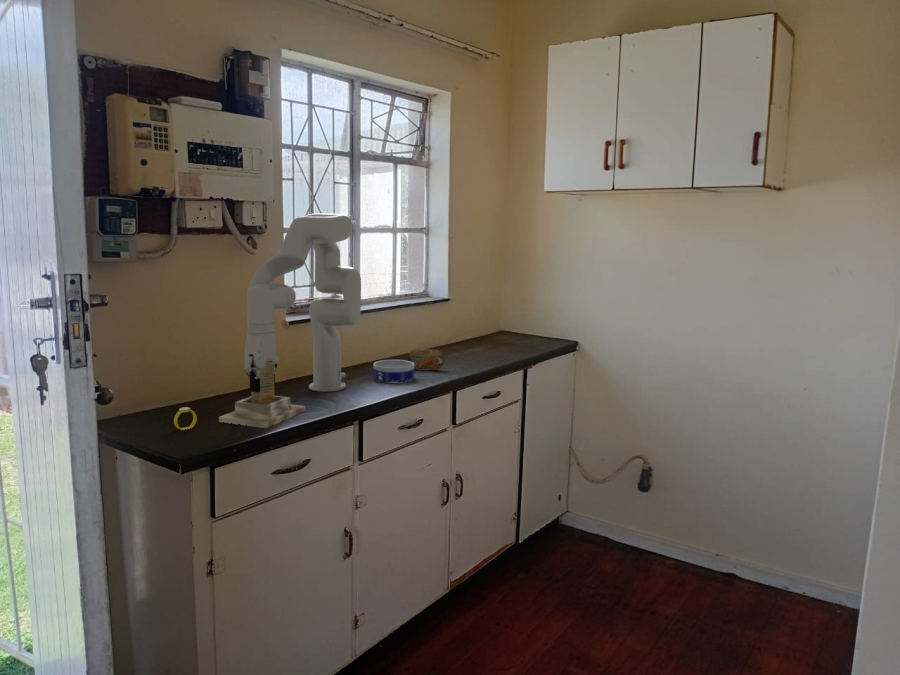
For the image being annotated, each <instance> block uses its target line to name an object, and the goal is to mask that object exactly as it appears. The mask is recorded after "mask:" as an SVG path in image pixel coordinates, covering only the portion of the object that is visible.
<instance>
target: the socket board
mask: <svg viewBox="0 0 900 675" xmlns="http://www.w3.org/2000/svg"><path fill="white" fill-rule="evenodd" d="M291 401H292V397H290V396H282V395H275V401H274V402H268V403H262V404H258V403H256V402H253V401H251V396H249V397H246V398H243V399H241V400H237V401H234V411H231V412H228V413H225V414H223V415H221V416H218V422H219V423H223V422H224V423H225V424H231V423H232V425H233V424H234V425H238V424H240V425H241V426H246V425H247V426H246V427H255V428H261V429H269V428H271V427H272V425H273V426H275V425H277V424H280V423H281V421H282V422H284V421H286V420H288V419H291V418H292V417H294V416H297V415H299V414H301V413H303V412H305V411H306V406H305V405H300V404H291ZM224 423H223V424H224ZM240 425H239V426H240ZM270 426H271V427H270Z"/></svg>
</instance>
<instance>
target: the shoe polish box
mask: <svg viewBox="0 0 900 675" xmlns="http://www.w3.org/2000/svg"><path fill="white" fill-rule="evenodd" d="M254 368H256V366H254ZM254 373H256V370H254ZM274 374H275V373H274V361H269V362H266V366H265V368H262V369H260V373H259V377H258V378H259V379H260V392H251V391H250V397H251V401H253V402H256V403H258V404H262V403H268V402H274V401H275V396H276V395H275V392H276V391H275V387H274Z"/></svg>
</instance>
